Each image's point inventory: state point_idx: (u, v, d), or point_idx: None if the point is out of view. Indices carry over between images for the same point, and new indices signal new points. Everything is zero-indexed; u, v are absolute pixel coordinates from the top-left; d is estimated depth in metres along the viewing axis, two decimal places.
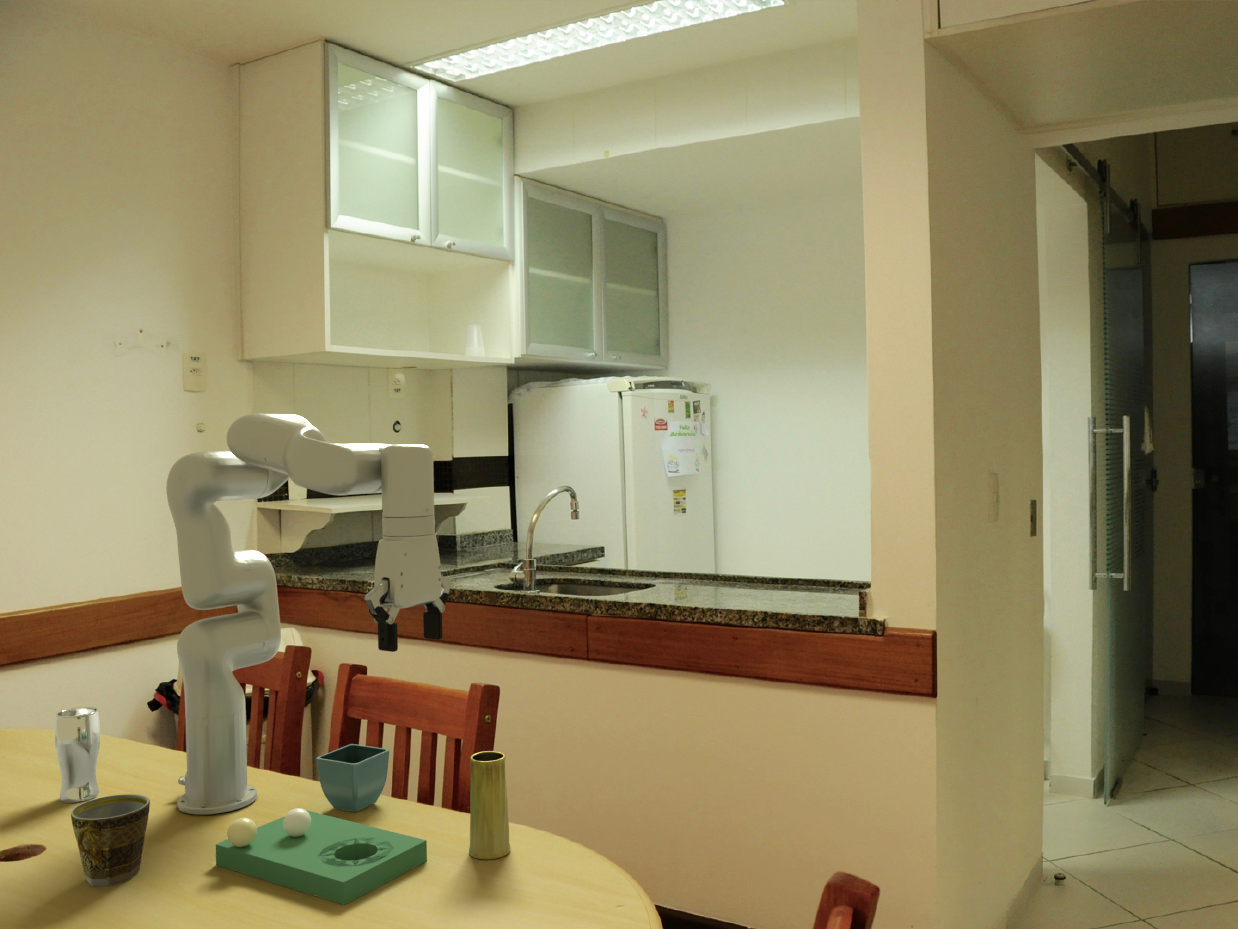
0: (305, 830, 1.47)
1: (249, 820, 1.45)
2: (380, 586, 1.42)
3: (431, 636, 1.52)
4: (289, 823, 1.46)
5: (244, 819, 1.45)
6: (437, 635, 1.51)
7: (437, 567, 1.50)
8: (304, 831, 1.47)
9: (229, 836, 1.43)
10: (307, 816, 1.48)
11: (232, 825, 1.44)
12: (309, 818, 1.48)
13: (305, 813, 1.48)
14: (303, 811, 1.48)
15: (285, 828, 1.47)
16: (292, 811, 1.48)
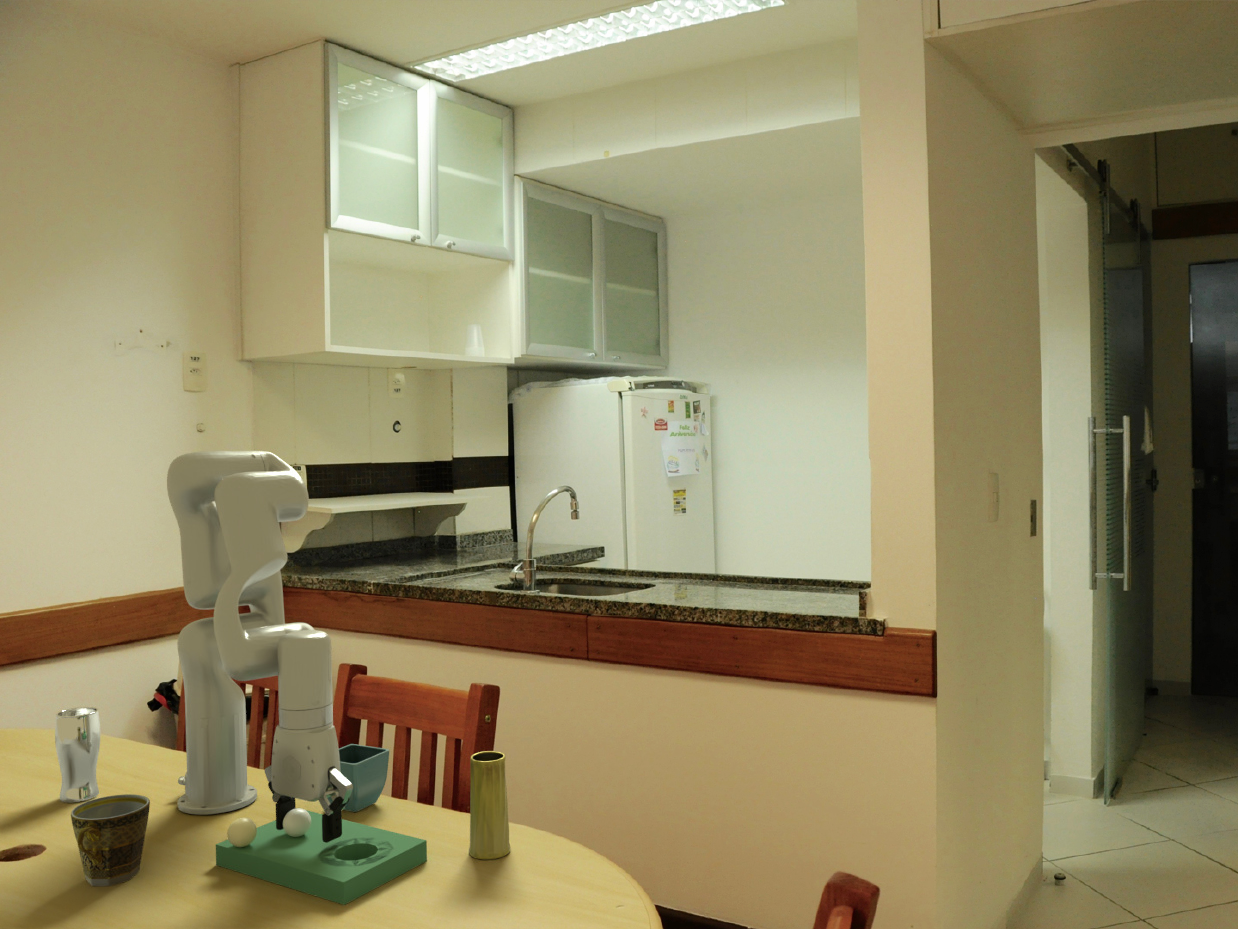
0: (305, 830, 1.47)
1: (249, 820, 1.45)
2: (340, 775, 1.44)
3: None
4: (289, 823, 1.46)
5: (244, 819, 1.45)
6: None
7: None
8: (304, 831, 1.47)
9: (229, 836, 1.43)
10: (307, 816, 1.48)
11: (232, 825, 1.44)
12: (309, 818, 1.48)
13: (305, 813, 1.48)
14: (303, 811, 1.48)
15: (285, 828, 1.47)
16: (292, 811, 1.48)
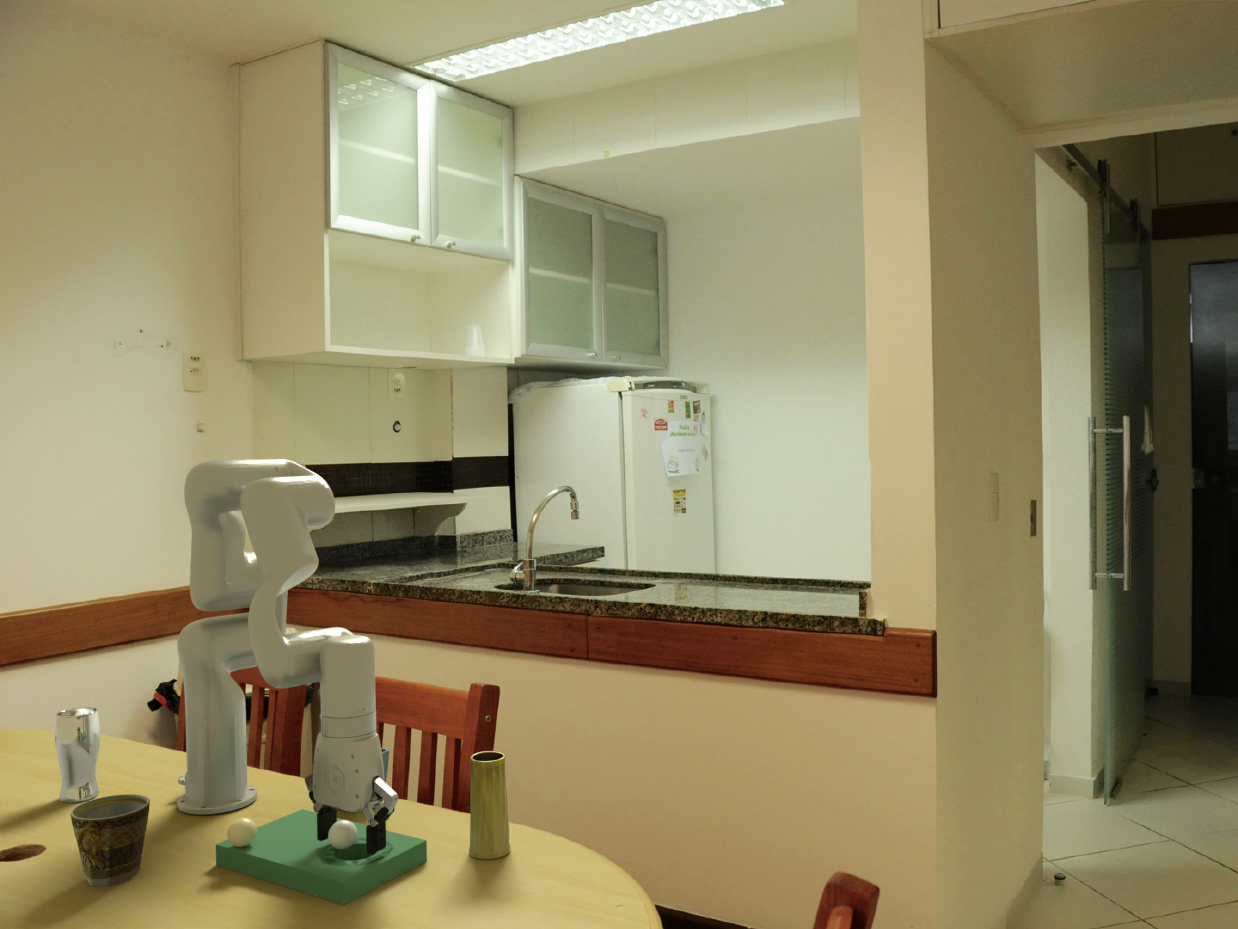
0: (341, 821, 1.44)
1: (249, 820, 1.45)
2: (385, 784, 1.39)
3: None
4: (329, 836, 1.42)
5: (244, 819, 1.45)
6: None
7: None
8: (341, 821, 1.43)
9: (229, 836, 1.43)
10: None
11: (232, 825, 1.44)
12: None
13: None
14: None
15: (333, 840, 1.42)
16: None
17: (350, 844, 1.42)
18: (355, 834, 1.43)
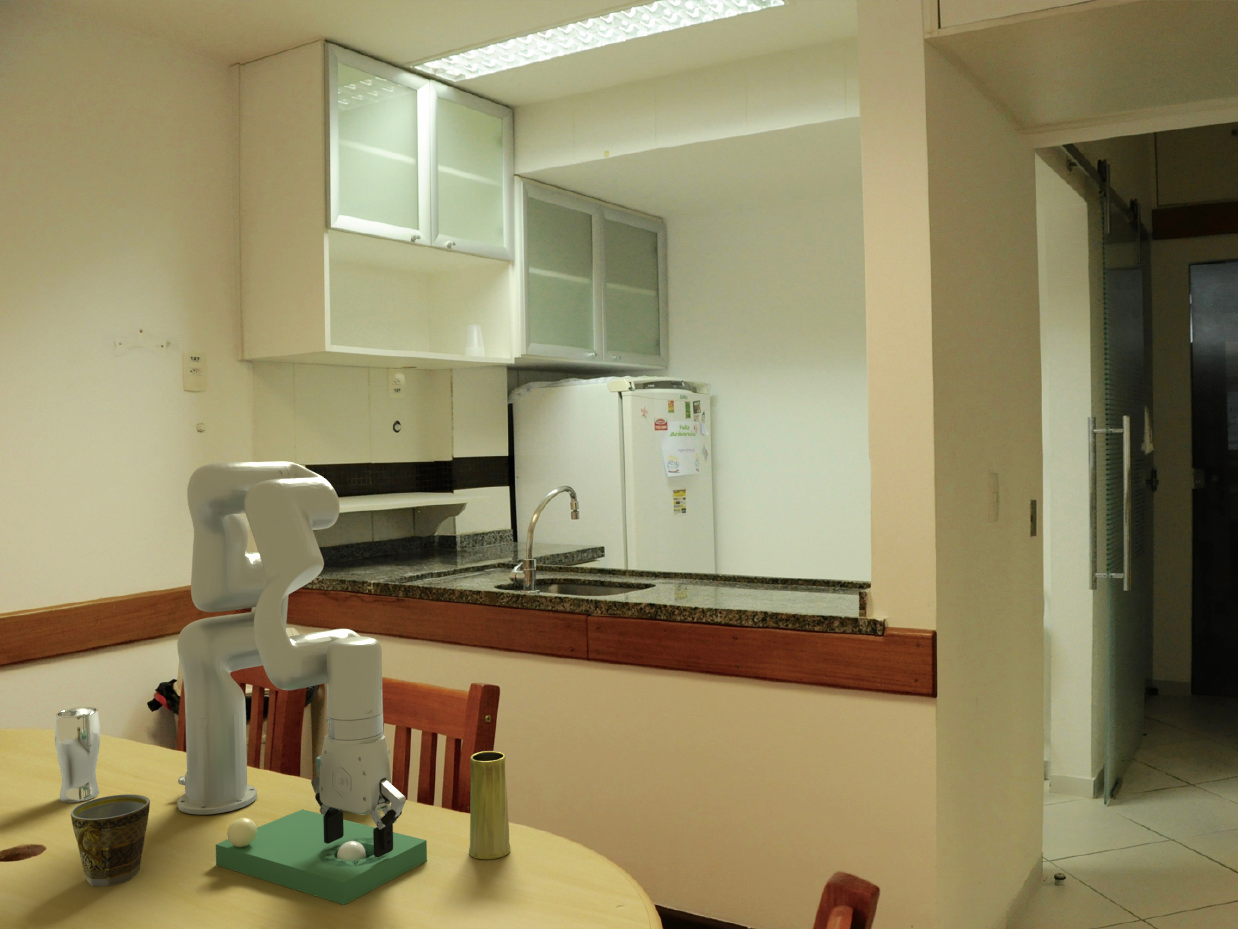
0: (359, 852, 1.42)
1: (249, 820, 1.45)
2: (392, 787, 1.39)
3: (336, 837, 1.44)
4: (341, 855, 1.41)
5: (244, 819, 1.45)
6: (341, 833, 1.45)
7: None
8: (359, 853, 1.42)
9: (229, 836, 1.43)
10: (355, 841, 1.43)
11: (232, 825, 1.44)
12: (358, 842, 1.43)
13: (351, 841, 1.43)
14: (349, 841, 1.43)
15: None
16: (339, 848, 1.43)
17: None
18: None
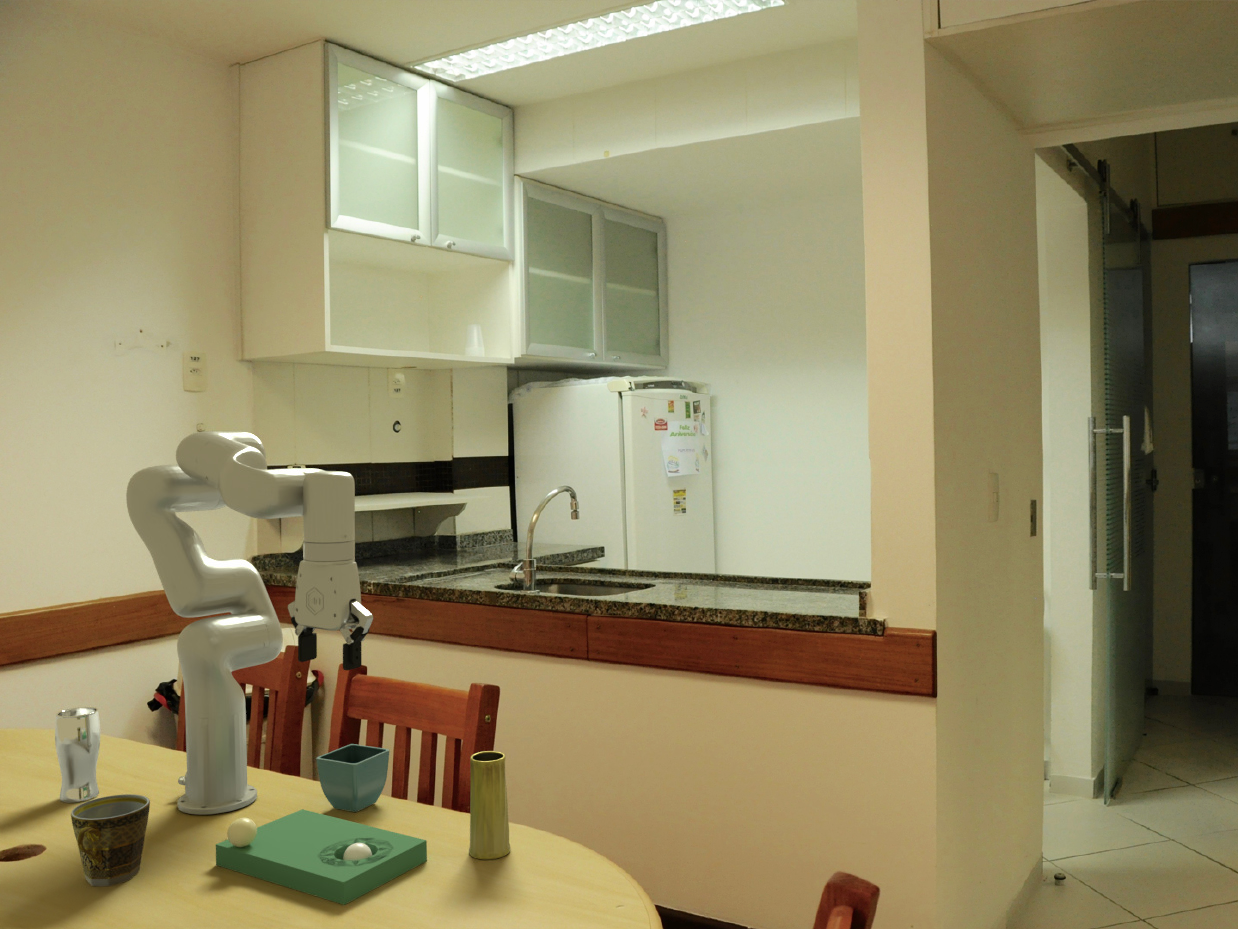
0: None
1: (249, 820, 1.45)
2: (361, 606, 1.50)
3: (309, 657, 1.56)
4: (350, 858, 1.40)
5: (244, 819, 1.45)
6: (315, 654, 1.57)
7: None
8: None
9: (229, 836, 1.43)
10: (367, 848, 1.42)
11: (232, 825, 1.44)
12: (369, 850, 1.42)
13: (364, 845, 1.42)
14: (362, 844, 1.42)
15: None
16: (350, 846, 1.42)
17: None
18: None
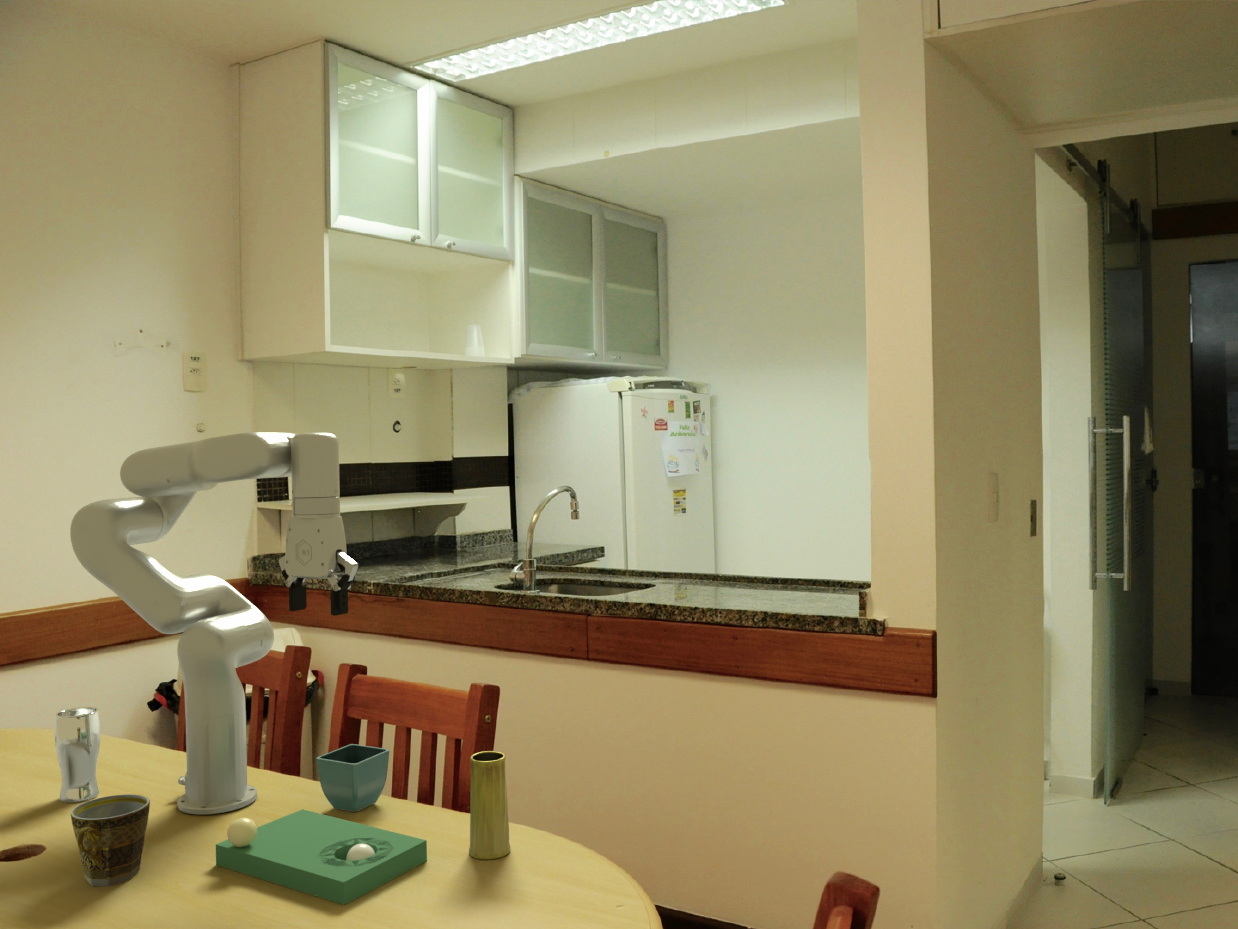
0: None
1: (249, 820, 1.45)
2: (347, 556, 1.62)
3: (300, 607, 1.67)
4: (354, 860, 1.40)
5: (244, 819, 1.45)
6: (305, 605, 1.68)
7: None
8: None
9: (229, 836, 1.43)
10: (372, 852, 1.41)
11: (232, 825, 1.44)
12: None
13: (370, 849, 1.42)
14: (368, 847, 1.41)
15: None
16: (356, 847, 1.41)
17: None
18: None
